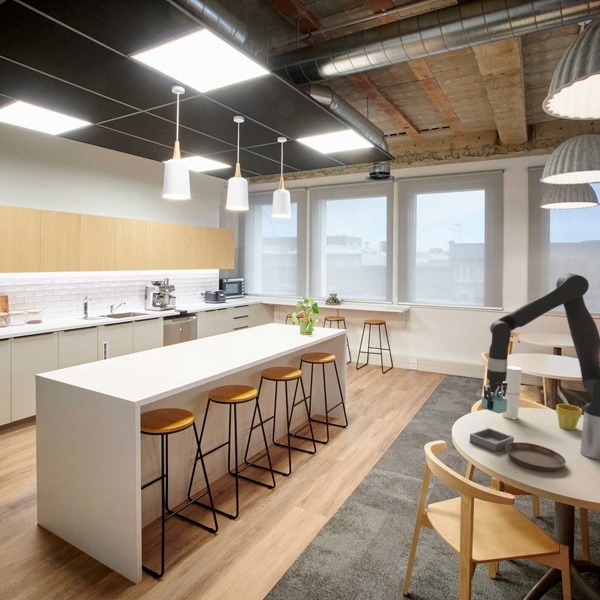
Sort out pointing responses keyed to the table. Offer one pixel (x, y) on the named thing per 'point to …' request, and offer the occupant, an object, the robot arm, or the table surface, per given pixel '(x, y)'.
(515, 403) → the cylindrical container
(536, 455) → the plant saucer
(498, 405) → the small crate
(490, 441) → the grey rectangular tray
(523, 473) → the table surface
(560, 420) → the plant pot
